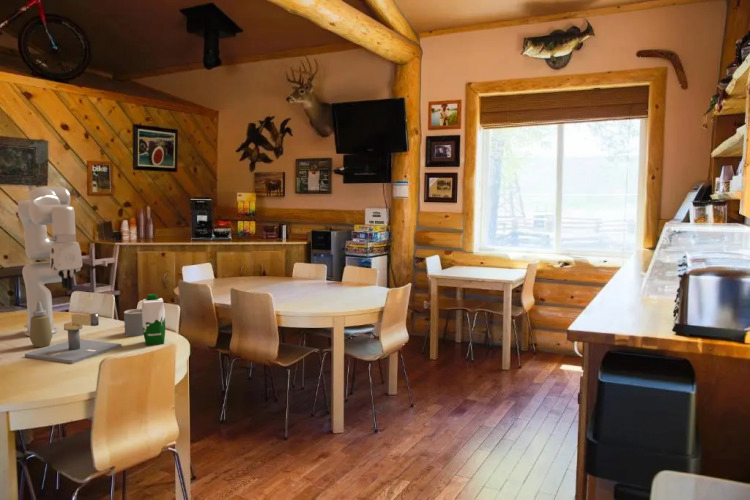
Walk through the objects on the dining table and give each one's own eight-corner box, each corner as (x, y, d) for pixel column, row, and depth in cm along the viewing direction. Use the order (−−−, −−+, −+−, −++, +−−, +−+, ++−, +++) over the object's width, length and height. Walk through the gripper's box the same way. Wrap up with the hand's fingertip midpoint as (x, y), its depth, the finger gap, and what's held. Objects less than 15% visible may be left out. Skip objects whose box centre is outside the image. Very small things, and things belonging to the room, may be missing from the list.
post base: (24, 356, 222) (23, 333, 221) (76, 341, 245) (75, 320, 244) (72, 363, 214) (71, 339, 213) (121, 346, 236) (120, 325, 236)
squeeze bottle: (57, 344, 241) (54, 301, 239) (40, 349, 233) (37, 305, 231) (42, 342, 243) (40, 299, 241) (25, 347, 236) (22, 303, 234)
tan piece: (92, 332, 223) (91, 316, 222) (60, 330, 226) (59, 313, 225) (103, 328, 229) (103, 312, 228) (72, 326, 232) (71, 310, 232)
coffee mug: (127, 337, 251) (126, 314, 250) (122, 332, 260) (121, 310, 259) (159, 333, 259) (158, 311, 258) (154, 328, 267) (153, 307, 266)
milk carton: (165, 338, 249) (163, 292, 247) (166, 344, 241) (164, 296, 238) (143, 341, 245) (140, 294, 243) (143, 346, 237) (141, 298, 235)
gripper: (50, 241, 208) (53, 292, 210) (89, 238, 221) (91, 285, 223) (38, 240, 211) (41, 290, 214) (77, 237, 224) (80, 284, 226)
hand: (67, 287), depth 218 cm, fingers closed
